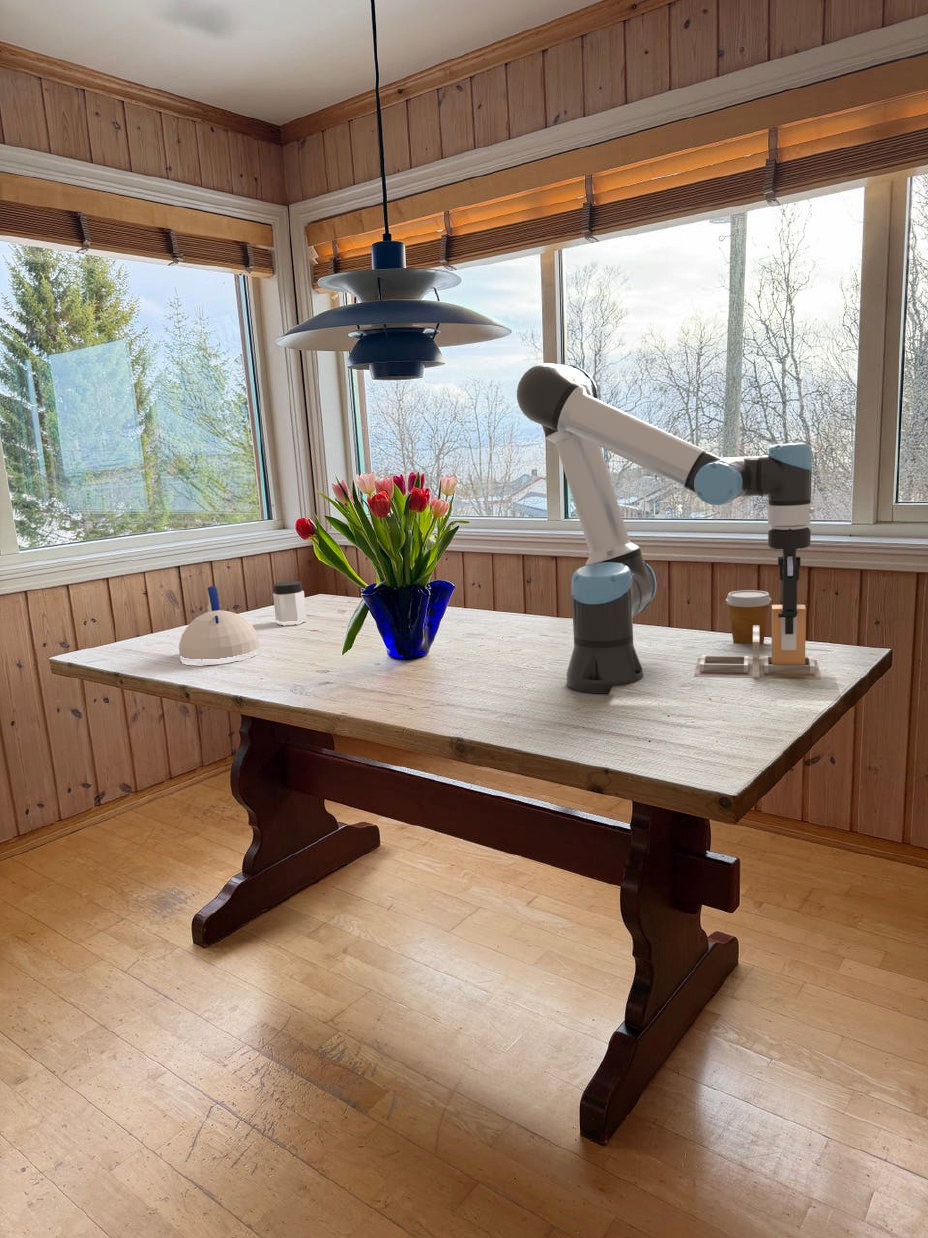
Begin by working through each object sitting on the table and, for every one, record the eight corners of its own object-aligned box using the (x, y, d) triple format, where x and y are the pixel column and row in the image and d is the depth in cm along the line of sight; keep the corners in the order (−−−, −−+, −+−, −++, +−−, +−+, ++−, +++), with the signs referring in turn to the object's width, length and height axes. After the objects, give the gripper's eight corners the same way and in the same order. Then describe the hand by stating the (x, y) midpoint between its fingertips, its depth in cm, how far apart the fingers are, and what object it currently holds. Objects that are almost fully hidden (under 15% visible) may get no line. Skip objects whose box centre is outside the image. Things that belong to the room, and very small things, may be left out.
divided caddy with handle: (821, 686, 162) (821, 642, 160) (693, 683, 169) (693, 641, 167) (816, 666, 174) (817, 625, 173) (698, 664, 182) (697, 625, 180)
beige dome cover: (257, 642, 234) (249, 576, 230) (265, 659, 214) (256, 587, 211) (179, 653, 228) (169, 585, 224) (179, 671, 208) (169, 597, 205)
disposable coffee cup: (773, 651, 188) (774, 597, 186) (728, 652, 190) (727, 598, 188) (767, 640, 197) (768, 589, 195) (724, 641, 199) (723, 590, 197)
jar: (272, 623, 257) (268, 583, 254) (297, 619, 262) (293, 579, 259) (285, 627, 250) (280, 586, 247) (311, 622, 254) (306, 582, 252)
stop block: (805, 664, 166) (805, 608, 164) (771, 664, 168) (772, 608, 166) (804, 659, 170) (804, 604, 168) (771, 659, 172) (771, 604, 170)
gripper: (813, 531, 155) (811, 658, 160) (808, 520, 171) (806, 636, 175) (768, 532, 157) (768, 657, 162) (767, 522, 173) (767, 636, 178)
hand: (788, 646), depth 169 cm, fingers closed on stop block, 4 cm apart
